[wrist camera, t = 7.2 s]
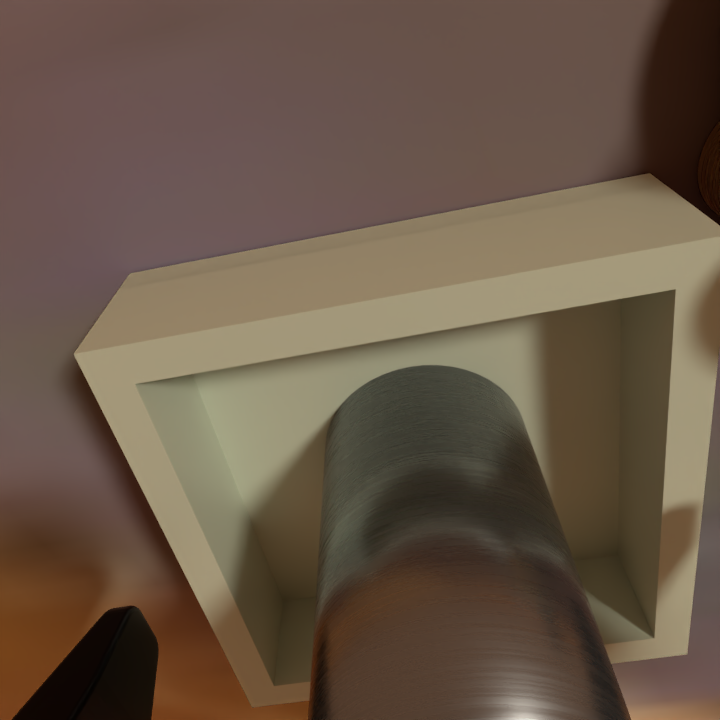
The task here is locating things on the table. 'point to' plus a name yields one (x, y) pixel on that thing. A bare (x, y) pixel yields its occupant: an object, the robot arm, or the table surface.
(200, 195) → the table surface
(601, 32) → the table surface
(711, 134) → the crank base
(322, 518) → the dark metal cylinder
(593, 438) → the tray
